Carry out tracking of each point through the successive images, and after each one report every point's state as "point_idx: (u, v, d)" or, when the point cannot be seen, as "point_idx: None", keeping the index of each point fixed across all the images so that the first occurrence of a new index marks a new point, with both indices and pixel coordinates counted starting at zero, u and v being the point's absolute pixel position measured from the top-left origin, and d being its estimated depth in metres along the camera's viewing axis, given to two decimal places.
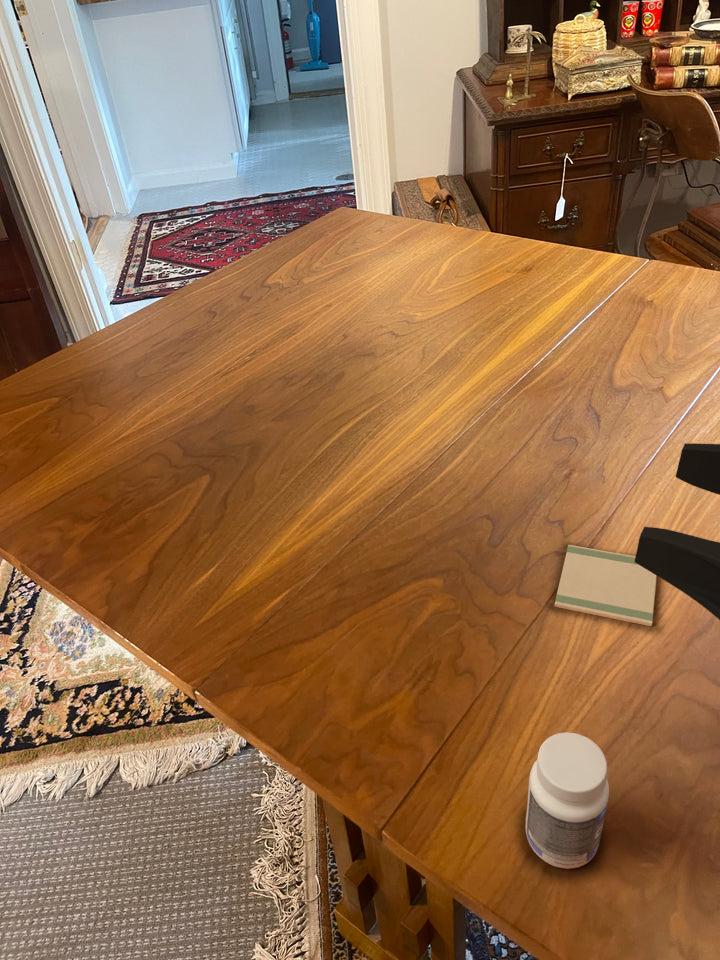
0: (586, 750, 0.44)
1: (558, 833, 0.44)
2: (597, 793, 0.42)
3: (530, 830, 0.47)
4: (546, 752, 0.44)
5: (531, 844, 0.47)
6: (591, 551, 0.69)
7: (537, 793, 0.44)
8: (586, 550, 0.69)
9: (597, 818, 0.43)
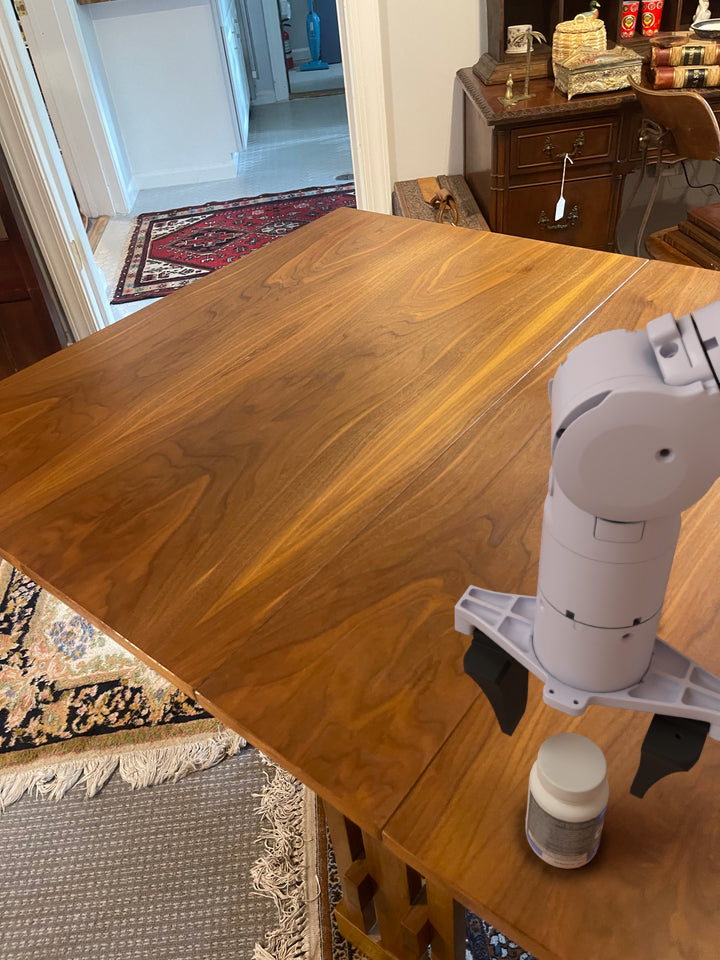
0: (586, 750, 0.44)
1: (558, 833, 0.44)
2: (597, 793, 0.42)
3: (530, 830, 0.47)
4: (546, 752, 0.44)
5: (531, 844, 0.47)
6: None
7: (537, 793, 0.44)
8: None
9: (597, 818, 0.43)
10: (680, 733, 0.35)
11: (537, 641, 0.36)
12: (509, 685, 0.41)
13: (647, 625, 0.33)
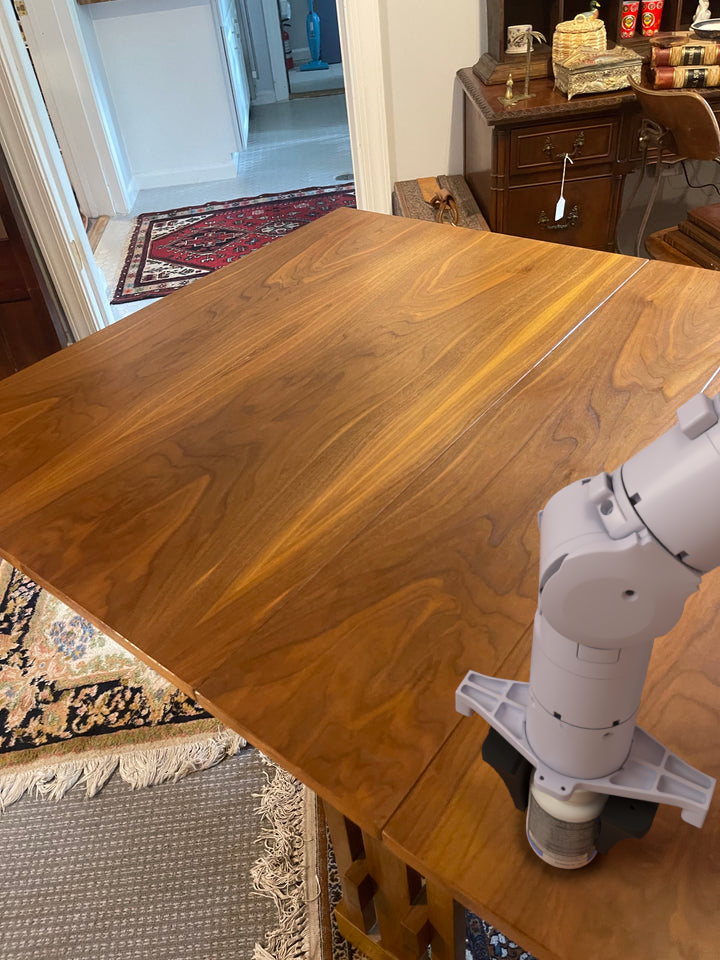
0: None
1: (559, 833, 0.44)
2: (598, 794, 0.42)
3: (531, 830, 0.47)
4: None
5: (532, 844, 0.47)
6: None
7: (538, 794, 0.44)
8: None
9: (598, 818, 0.43)
10: (634, 804, 0.40)
11: (529, 730, 0.41)
12: (523, 771, 0.45)
13: (625, 724, 0.37)
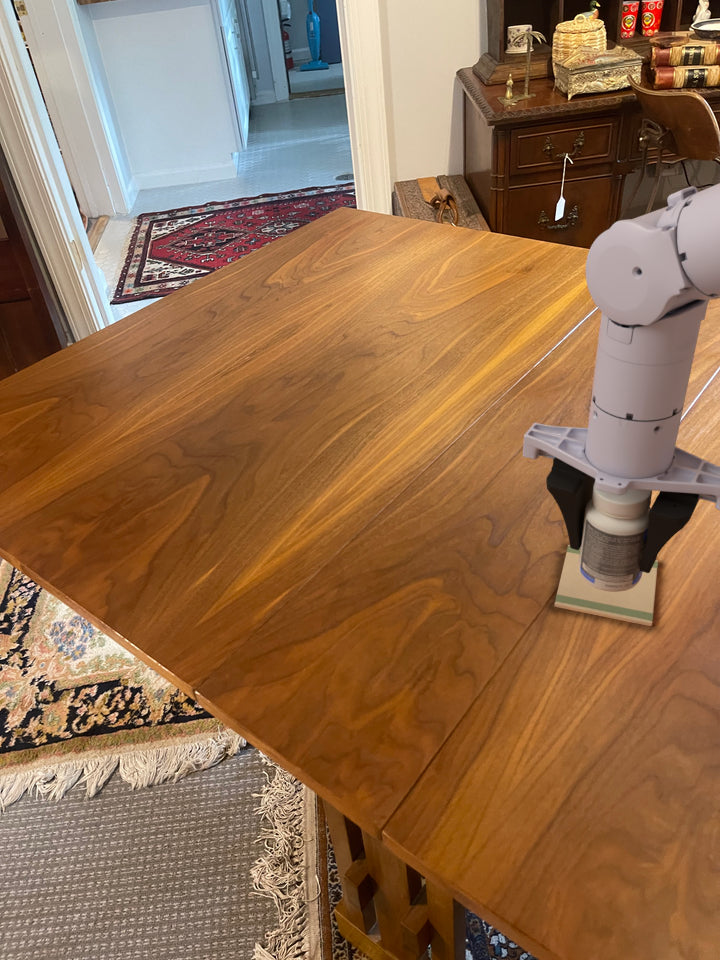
0: None
1: (610, 550, 0.53)
2: (644, 509, 0.51)
3: (584, 561, 0.56)
4: None
5: (584, 576, 0.56)
6: None
7: (593, 517, 0.53)
8: None
9: (643, 534, 0.52)
10: (677, 504, 0.49)
11: (589, 447, 0.50)
12: (580, 501, 0.53)
13: (672, 420, 0.46)
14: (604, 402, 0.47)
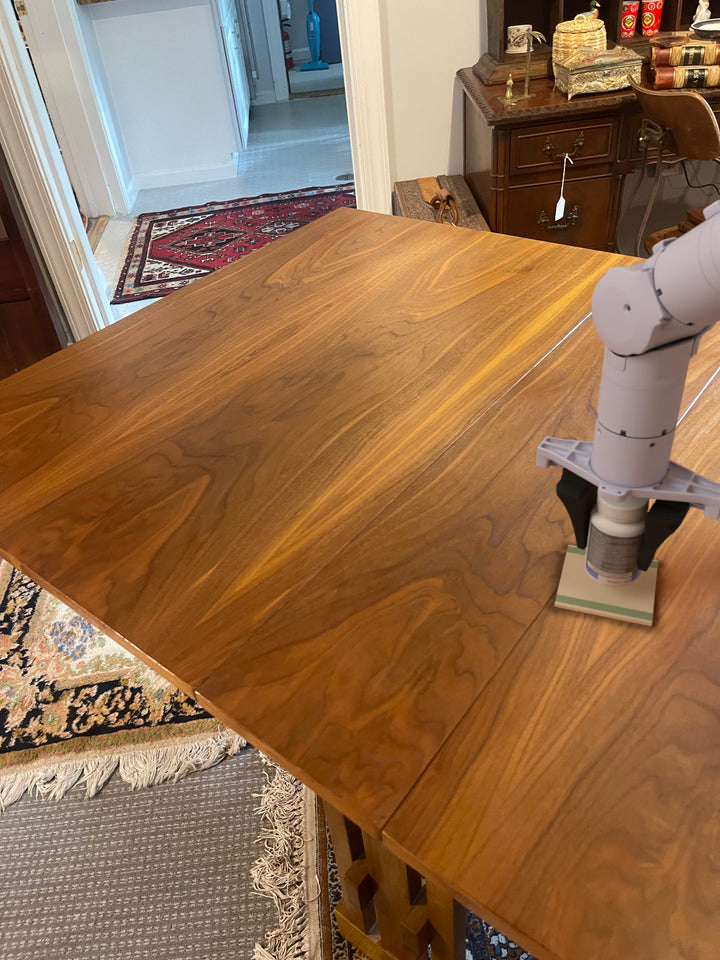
0: None
1: (612, 550, 0.60)
2: (642, 514, 0.58)
3: (589, 560, 0.63)
4: None
5: (589, 572, 0.63)
6: None
7: (597, 521, 0.60)
8: None
9: (641, 537, 0.59)
10: (670, 510, 0.56)
11: (594, 459, 0.57)
12: (586, 506, 0.61)
13: (665, 438, 0.53)
14: (603, 418, 0.54)
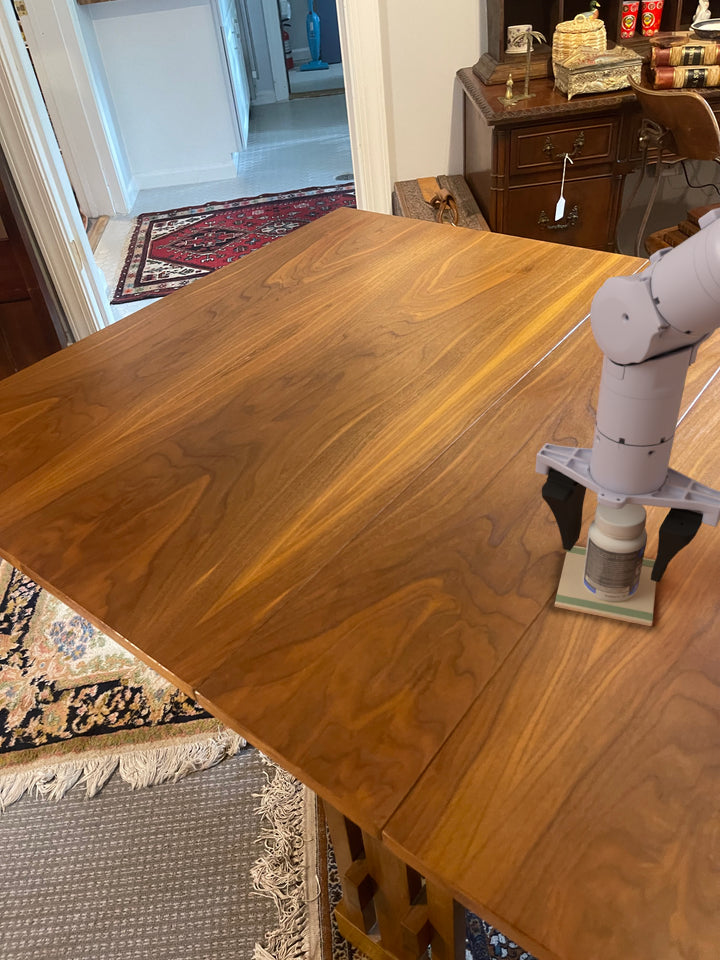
0: (631, 505, 0.61)
1: (609, 565, 0.61)
2: (639, 530, 0.59)
3: (587, 574, 0.64)
4: (602, 506, 0.61)
5: (587, 587, 0.64)
6: None
7: (595, 537, 0.61)
8: None
9: (638, 552, 0.60)
10: (684, 522, 0.56)
11: (593, 467, 0.57)
12: (571, 508, 0.62)
13: (664, 446, 0.53)
14: (602, 426, 0.54)
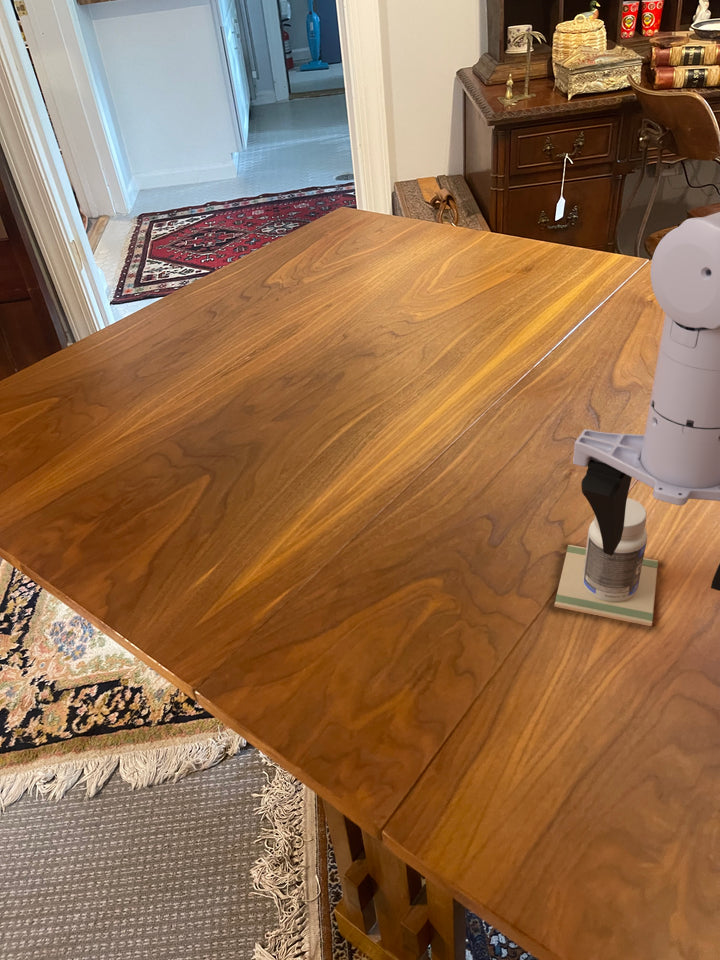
0: (631, 505, 0.61)
1: (609, 565, 0.61)
2: (639, 530, 0.59)
3: (587, 574, 0.64)
4: None
5: (587, 587, 0.64)
6: None
7: (595, 537, 0.61)
8: None
9: (638, 552, 0.60)
10: None
11: (647, 455, 0.48)
12: (616, 505, 0.52)
13: None
14: (663, 407, 0.45)
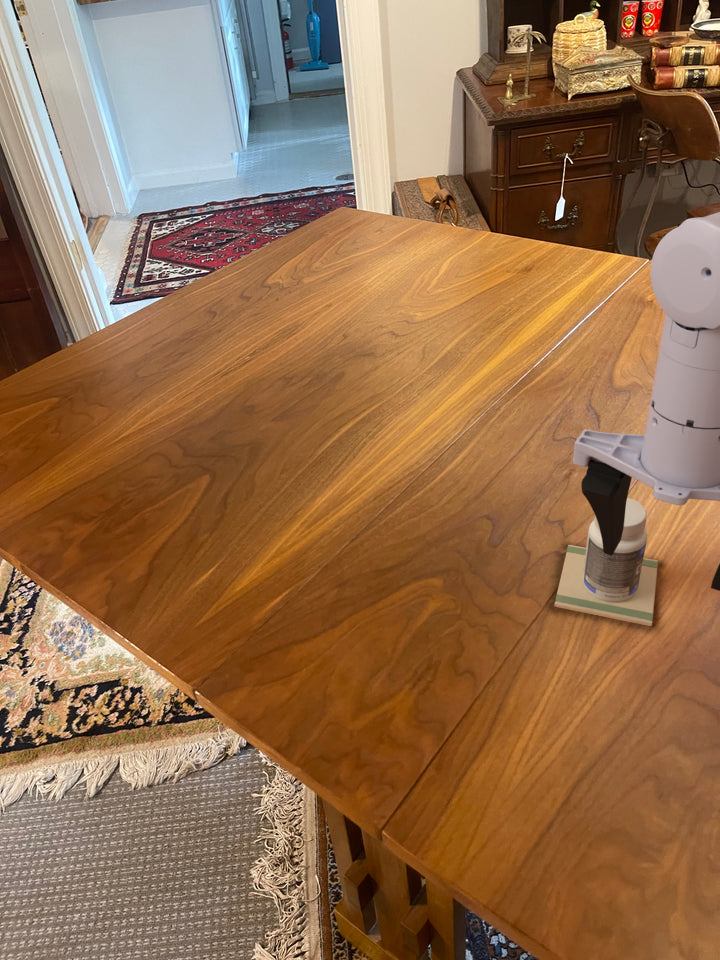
0: (631, 505, 0.61)
1: (609, 565, 0.61)
2: (639, 530, 0.59)
3: (587, 574, 0.64)
4: None
5: (587, 587, 0.64)
6: None
7: (595, 537, 0.61)
8: None
9: (638, 552, 0.60)
10: None
11: (647, 455, 0.48)
12: (616, 505, 0.52)
13: None
14: (663, 407, 0.45)
